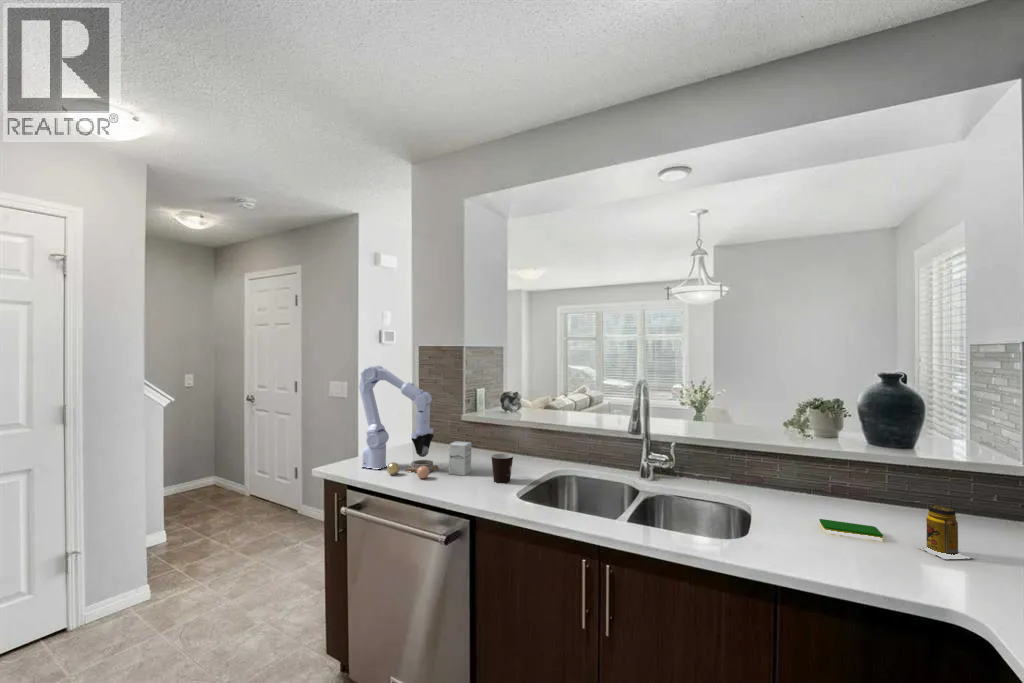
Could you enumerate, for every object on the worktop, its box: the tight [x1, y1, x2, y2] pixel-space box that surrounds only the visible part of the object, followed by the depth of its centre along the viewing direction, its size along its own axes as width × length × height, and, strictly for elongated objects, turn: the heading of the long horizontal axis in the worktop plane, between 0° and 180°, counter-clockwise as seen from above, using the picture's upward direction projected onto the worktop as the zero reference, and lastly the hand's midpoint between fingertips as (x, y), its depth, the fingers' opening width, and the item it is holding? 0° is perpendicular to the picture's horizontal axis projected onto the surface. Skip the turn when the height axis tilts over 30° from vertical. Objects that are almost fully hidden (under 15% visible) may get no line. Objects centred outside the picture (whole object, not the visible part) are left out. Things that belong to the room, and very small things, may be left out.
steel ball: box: [417, 445, 429, 458], centre depth 195 cm, size 5×5×5 cm
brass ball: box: [386, 461, 401, 476], centre depth 187 cm, size 5×5×5 cm
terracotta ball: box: [416, 466, 430, 480], centre depth 182 cm, size 5×5×5 cm
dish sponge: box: [819, 518, 884, 539], centre depth 132 cm, size 7×14×2 cm, turn 66°
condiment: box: [925, 504, 959, 555], centre depth 119 cm, size 7×8×12 cm
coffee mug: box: [490, 453, 514, 484], centre depth 181 cm, size 12×9×10 cm
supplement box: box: [448, 440, 473, 476], centre depth 191 cm, size 7×7×13 cm
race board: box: [405, 459, 439, 473], centre depth 195 cm, size 10×10×3 cm
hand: (422, 452), depth 195 cm, fingers closed on steel ball, 5 cm apart
